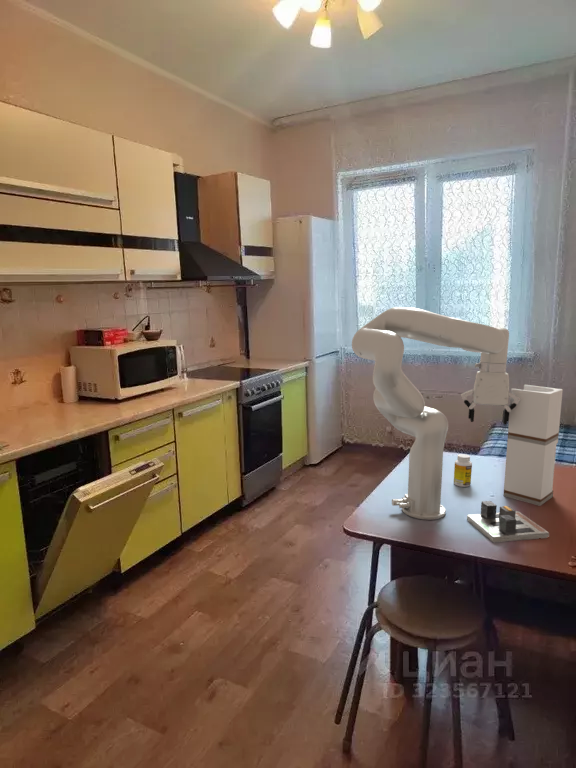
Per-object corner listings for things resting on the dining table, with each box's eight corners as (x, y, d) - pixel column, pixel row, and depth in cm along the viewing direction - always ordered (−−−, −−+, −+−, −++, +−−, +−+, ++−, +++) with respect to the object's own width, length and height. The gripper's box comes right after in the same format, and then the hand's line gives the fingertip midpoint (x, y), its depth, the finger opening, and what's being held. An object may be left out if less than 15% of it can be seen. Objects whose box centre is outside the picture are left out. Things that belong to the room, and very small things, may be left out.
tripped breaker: (505, 525, 144) (506, 510, 143) (498, 520, 147) (499, 506, 146) (514, 524, 144) (515, 510, 144) (508, 519, 147) (509, 505, 147)
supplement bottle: (465, 488, 175) (467, 459, 173) (450, 484, 179) (452, 455, 177) (473, 484, 179) (475, 455, 177) (458, 480, 183) (460, 452, 181)
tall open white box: (552, 496, 169) (562, 389, 162) (540, 506, 161) (549, 393, 155) (517, 487, 177) (525, 384, 171) (503, 495, 169) (511, 388, 163)
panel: (492, 542, 138) (494, 522, 137) (466, 519, 151) (468, 501, 151) (548, 537, 140) (550, 518, 139) (518, 516, 154) (519, 498, 153)
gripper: (464, 367, 160) (460, 422, 163) (525, 371, 156) (519, 427, 159) (462, 365, 167) (458, 417, 170) (520, 368, 164) (515, 421, 166)
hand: (487, 422), depth 165 cm, fingers open, 9 cm apart
